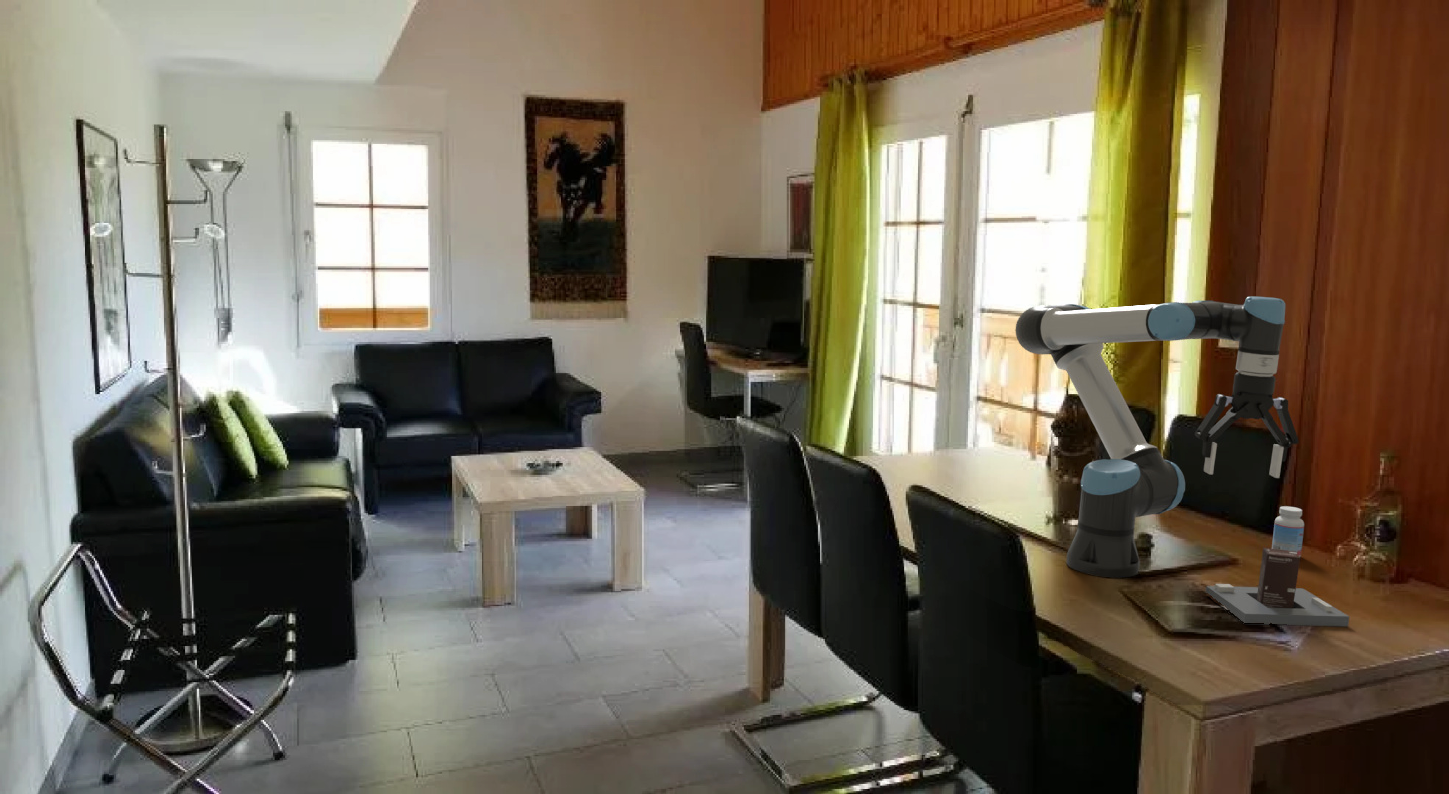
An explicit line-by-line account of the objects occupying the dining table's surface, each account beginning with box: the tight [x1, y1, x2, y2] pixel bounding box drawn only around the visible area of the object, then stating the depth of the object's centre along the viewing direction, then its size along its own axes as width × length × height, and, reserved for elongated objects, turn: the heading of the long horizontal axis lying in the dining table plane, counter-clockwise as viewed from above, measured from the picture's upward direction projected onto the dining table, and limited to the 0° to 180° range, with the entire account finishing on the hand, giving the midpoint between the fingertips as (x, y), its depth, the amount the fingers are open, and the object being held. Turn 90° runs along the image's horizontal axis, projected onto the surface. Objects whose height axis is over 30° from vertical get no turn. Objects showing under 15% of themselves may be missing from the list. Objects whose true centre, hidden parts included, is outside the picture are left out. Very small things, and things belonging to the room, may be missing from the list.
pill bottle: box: [1271, 505, 1305, 558], centre depth 247 cm, size 6×6×11 cm
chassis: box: [1205, 583, 1350, 627], centre depth 210 cm, size 20×16×3 cm
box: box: [1257, 547, 1301, 608], centre depth 209 cm, size 6×4×12 cm
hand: (1241, 474), depth 220 cm, fingers open, 13 cm apart
